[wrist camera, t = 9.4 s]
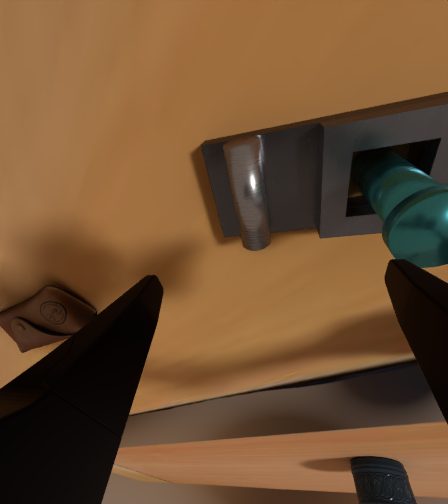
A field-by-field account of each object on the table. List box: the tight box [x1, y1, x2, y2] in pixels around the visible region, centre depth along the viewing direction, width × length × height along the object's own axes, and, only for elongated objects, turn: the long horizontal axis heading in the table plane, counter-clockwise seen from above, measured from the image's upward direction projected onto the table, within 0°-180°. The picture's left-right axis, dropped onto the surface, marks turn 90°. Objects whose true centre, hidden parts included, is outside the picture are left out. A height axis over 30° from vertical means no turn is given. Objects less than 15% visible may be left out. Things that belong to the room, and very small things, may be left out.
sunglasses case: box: [0, 285, 97, 353], centre depth 36 cm, size 18×7×7 cm
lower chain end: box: [201, 92, 448, 251], centre depth 17 cm, size 8×16×4 cm, turn 102°
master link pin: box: [350, 147, 448, 268], centre depth 14 cm, size 4×4×9 cm
